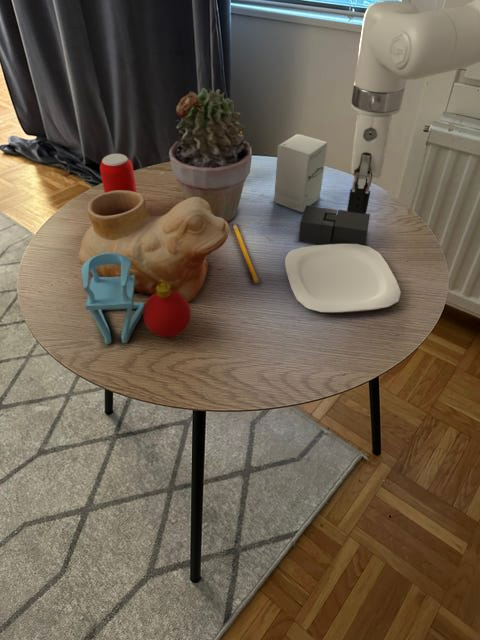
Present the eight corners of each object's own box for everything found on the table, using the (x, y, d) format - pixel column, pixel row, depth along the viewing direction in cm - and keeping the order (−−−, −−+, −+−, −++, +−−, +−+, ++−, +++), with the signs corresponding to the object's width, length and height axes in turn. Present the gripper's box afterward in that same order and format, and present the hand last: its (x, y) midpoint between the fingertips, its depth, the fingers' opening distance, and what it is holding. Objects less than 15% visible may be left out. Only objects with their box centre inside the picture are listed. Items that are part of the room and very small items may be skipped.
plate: (373, 248, 91) (375, 240, 90) (408, 313, 78) (411, 305, 77) (278, 254, 89) (279, 246, 88) (298, 322, 76) (299, 314, 75)
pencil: (236, 226, 96) (236, 223, 96) (258, 283, 84) (258, 280, 83) (232, 226, 96) (232, 223, 96) (254, 283, 83) (254, 280, 83)
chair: (90, 345, 73) (71, 284, 64) (97, 308, 79) (80, 247, 70) (142, 342, 73) (130, 280, 65) (145, 305, 79) (134, 245, 71)
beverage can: (104, 220, 97) (92, 164, 89) (116, 205, 102) (106, 150, 94) (133, 224, 96) (123, 167, 88) (144, 208, 101) (136, 153, 93)
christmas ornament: (136, 336, 74) (126, 285, 67) (164, 309, 78) (157, 259, 72) (174, 353, 72) (167, 303, 65) (201, 324, 76) (197, 274, 69)
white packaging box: (302, 213, 100) (309, 154, 91) (273, 202, 103) (276, 144, 94) (320, 199, 104) (328, 141, 95) (291, 188, 107) (296, 132, 98)
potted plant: (261, 188, 107) (265, 66, 90) (253, 238, 93) (257, 104, 76) (180, 183, 109) (170, 62, 91) (161, 232, 95) (144, 100, 77)
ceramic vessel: (218, 313, 78) (215, 234, 67) (69, 288, 82) (45, 210, 72) (238, 262, 88) (238, 187, 77) (104, 243, 92) (87, 168, 81)
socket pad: (333, 229, 95) (337, 209, 92) (329, 246, 91) (333, 226, 88) (303, 225, 97) (306, 205, 94) (298, 241, 92) (300, 221, 89)
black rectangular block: (365, 234, 94) (370, 213, 91) (363, 251, 90) (367, 230, 87) (325, 227, 96) (328, 207, 93) (320, 244, 92) (323, 224, 89)
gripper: (400, 120, 68) (377, 226, 79) (403, 82, 80) (383, 179, 91) (346, 115, 69) (331, 220, 81) (357, 78, 81) (343, 174, 93)
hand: (359, 198), depth 86 cm, fingers open, 9 cm apart
